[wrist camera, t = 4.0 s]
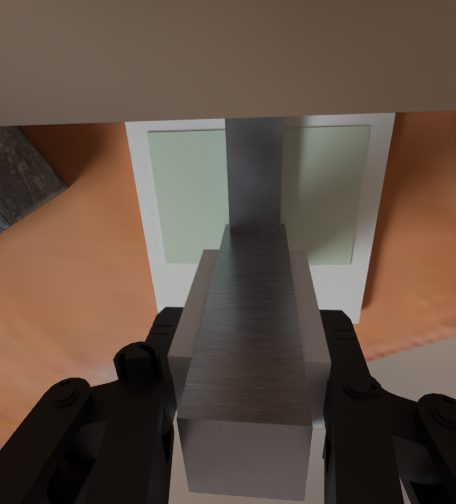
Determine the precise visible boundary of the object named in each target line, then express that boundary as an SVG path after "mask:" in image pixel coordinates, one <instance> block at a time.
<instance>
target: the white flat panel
mask: <svg viewBox="0 0 456 504" xmlns="http://www.w3.org/2000/svg"><path fill="white" fill-rule="evenodd" d="M395 114H396V113H371V114H342V115H312V116H284V119H283V150H282V181H281V212H280V224H285V227H286V235H287V242H288V249H289V250H305V251H306V255H307V259H308V264H309V268H310V272H311V277H312V281H313V285H314V290H315V294H316V298H317V303H318V307H319V309H320V310H342V311H343V312H344V313H345V314H346V315H347V316H348V317H349V318H350V319H351V321H352V324H358V323H359V318H360V312H361V306H362V301H363V295H364V289H365V284H366V278H367V273H368V267H369V261H370V256H371V250H372V244H373V239H374V233H375V227H376V222H377V216H378V210H379V205H380V199H381V193H382V188H383V182H384V176H385V171H386V165H387V159H388V154H389V148H390V142H391V137H392V131H393V125H394V120H395ZM125 126H126V131H127V137H128V143H129V149H130V154H131V160H132V166H133V171H134V177H135V183H136V189H137V194H138V200H139V206H140V212H141V217H142V223H143V229H144V235H145V240H146V246H147V252H148V257H149V263H150V269H151V275H152V280H153V286H154V292H155V298H156V303H157V309H158V313H159V312H161V311H162V310H163V309H164V308H165V307H184V306H185V303H186V300H187V297H188V294H189V291H190V288H191V285H192V282H193V279H194V276H195V274H196V271H197V268H198V265H199V262H200V259H201V256H202V253H203V250H204V249H220V245H221V241H222V237H223V233H224V229H225V225H226V224H229V204H228V181H227V158H226V135H225V119H195V120H166V121H137V122H125Z"/></svg>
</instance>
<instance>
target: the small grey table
mask: <svg viewBox="0 0 456 504" xmlns="http://www.w3.org/2000/svg"><path fill="white" fill-rule="evenodd" d="M429 111H456V0H0V126H20V125H49V124H79V123H108V122H137V121H166V120H195V119H225V118H254V117H283V116H312V115H342V114H371V113H400V112H429Z"/></svg>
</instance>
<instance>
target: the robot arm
mask: <svg viewBox="0 0 456 504" xmlns="http://www.w3.org/2000/svg"><path fill="white" fill-rule="evenodd" d="M218 253H219V249H204V250H203V253H202V256H201V259H200V262H199V265H198V268H197V271H196V274H195V276H194V279H193V282H192V285H191V288H190V291H189V294H188V297H187V300H186V303H185V306H184V307H165V308H164V309H163V310H162V311H161V312H159V313H158V314H157V316H156V318H155V320H154V322H153V326H152V327H151V329H150V332H149V335H148V336H147V338H146V341H145V342H141V341H140V342H136V343H131V344H129V345H127V346H125V347H123V348H122V349H121V350H120V351H119V352H117V354H116V355H115V357H114V359H113V361H114V365H115V368H116V372H117V376H118V380H116V381H113V382H110V383H106V384H102V385H98V386H93V387H90V384H89V383H88V382H87V381H86V380H85V379H82V378H68V379H65V380H62V381H60V382H58V383H57V384H55V385H53V386H52V387H51V388H50V389H49V390H48V391H47V392H46V393H45V394H44V395H43V396H42V397H41V399H40V400H39V401H38V403H37V404H36V405H35V406H34V408H33V409H32V410H31V412H30V413H29V414H28V415H27V417H26V418H25V419H24V420H23V422H22V423H21V424H20V426H19V427H18V428H17V429H16V431H15V432H14V433H13V434H12V436H11V437H10V438H9V440H8V441H7V442H6V443H5V445H4V446H3V447H2V449H1V450H0V504H83V503H84V504H168V501H169V489H170V478H171V466H172V454H173V443H174V426H173V420H174V416H175V412H176V410H177V414H178V410H179V406H180V403H181V399H182V395H183V391H184V387H185V383H186V379H187V375H188V371H189V367H190V363H191V359H192V355H193V351H194V347H195V343H196V339H197V335H198V331H199V328H200V324H201V320H202V316H203V312H204V308H205V304H206V300H207V296H208V292H209V288H210V284H211V280H212V276H213V272H214V268H215V264H216V260H217V256H218ZM289 257H290V264H291V271H292V278H293V286H294V293H295V300H296V308H297V315H298V322H299V330H300V337H301V344H302V351H303V359H304V366H305V373H306V381H307V388H308V395H309V403H310V410H311V417H312V424H313V427H322V426H323V419H324V422H325V428H326V435H325V442H324V449H323V456H322V458H323V459H324V466H325V467H324V504H404V500H403V495H402V489H401V484H400V479H401V481H402V483H403V486H404V488H405V491H406V493H407V495H408V498H409V500H410V502H411V504H456V399H453V398H450V397H448V396H446V395H443V394H435V393H432V394H427V395H424V396H423V397H421V398H420V399H419V401H418V402H416V401H413V400H409V399H406V398H403V397H399V396H397V395H394V394H392V393H390V392H388V391H386V390H384V389H383V388H382V387H381V385H380V384H379V383H378V382H377V380H375V378H373V377H372V376H371V375H370V373H369V370H368V367H367V364H366V361H365V358H364V356H363V353H362V350H361V347H360V344H359V341H358V340H357V336H356V333H355V331H354V327H353V324H352V321H351V319H350V318H349V317H348V316H347V315H346V314H345V313H344V312H343V311H342V310H320V309H319V307H318V303H317V298H316V294H315V290H314V285H313V281H312V277H311V272H310V268H309V264H308V259H307V255H306V251H305V250H289ZM399 477H400V478H399Z"/></svg>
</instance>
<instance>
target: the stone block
mask: <svg viewBox="0 0 456 504" xmlns="http://www.w3.org/2000/svg"><path fill="white" fill-rule="evenodd" d="M68 188H69V187H68V186H66V184H65V183H64V182H63V181H62V179H61V178H60V176H59V175H58V174H57V173H56V171H55V170H54V169H53V168H52V167H51V166H50V164H49V163H48V162H47V161H46V160H45V158H44V157H43V156H42V155H41V154H40V152H39V151H38V150H37V149H36V147H35V146H34V145H33V144H32V143H31V141H30V140H29V139H28V138H27V136H26V135H25V134H24V133H23V131H22V130H21V129H20V128H19V126H0V232H2V231H4V230H5V229H7V228H8V227H10V226H11V225H13V224H14V223H16V222H17V221H19V220H20V219H22V218H23V217H25V216H26V215H28V214H30V213H31V212H33V211H34V210H36V209H37V208H39V207H40V206H42V205H43V204H45V203H46V202H48V201H49V200H51V199H52V198H54V197H56V196H57V195H59V194H60V193H62V192H63V191H65V190H66V189H68Z"/></svg>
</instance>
